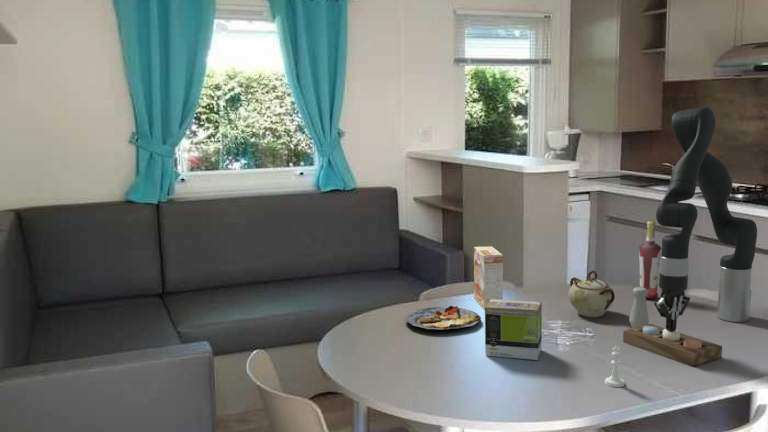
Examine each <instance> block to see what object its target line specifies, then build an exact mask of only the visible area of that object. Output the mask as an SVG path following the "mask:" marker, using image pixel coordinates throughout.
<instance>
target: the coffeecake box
mask: <svg viewBox="0 0 768 432" xmlns="http://www.w3.org/2000/svg"><path fill="white" fill-rule="evenodd" d="M473 273H474V274H473V276H474V277H473V280H474V281H473V299H474V300H475V301H476V302H477V303H478V305H480V307H481V308H482V309H483V311H485V307H486V306H487V304H488V303H489V301H490V300H491V299H504V289H503V288H504V254H503V253H501V252H500V251H498V250H497V249H496V248H495V247H493V246H492V245H490V246H474V247H473Z"/></svg>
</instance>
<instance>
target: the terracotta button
mask: <svg viewBox="0 0 768 432" xmlns="http://www.w3.org/2000/svg"><path fill="white" fill-rule="evenodd" d="M684 346H685V347H688V348H691V349H694V350H696V349H699V348H701V347H702V342H700V341H698V340H693V339H687V340H684Z"/></svg>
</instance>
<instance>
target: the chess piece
mask: <svg viewBox="0 0 768 432" xmlns="http://www.w3.org/2000/svg"><path fill="white" fill-rule="evenodd" d="M611 350H612V351H613V352H611V353H610V354H611V357H612V360H611V362H610V363H611V365H612V371H611V375H610V376H609V377H606V378H605V379H604V384H605V385H606V386H609V387H612V388H621V387H624V386H626V385H625V384H626V383H625V380H624V379H623V378H621V377H620V376H619V370H618V365H619V364H621V363H620V361H619V357H620V352H619V351H620V347H618V346H617V345H614V347H612V348H611Z"/></svg>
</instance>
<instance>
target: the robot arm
mask: <svg viewBox="0 0 768 432" xmlns="http://www.w3.org/2000/svg"><path fill="white" fill-rule="evenodd" d="M671 129H672V131H673V134H674V137H675V138H676V141H677V142H678V144H679V146H680V148H681V150H682V152H683V153H684V154H683V155H682V157H680V159H678V161H677V162H676V164H675V166H674V167H673V169H672V172H671V175H670V180H669V185H668V188H667V190H666V193H665V194H664V197H663V198H662V199H661V201H660V203H659V205H658V207H657V209H656V212H655V218H656V219H655V220H656V221H657V223H658V224H659V225H660V226H662V227H665V228H666V227H668V228H679V229H680V228H681V231H680V232H679V233H675V234H667V235H664V236H663V237H662V240H661V254H660V265H659V274H658V287H659V289H660V290H661V292H660V299H659V300H658V301H657V300H656V301H655V302H654V307H655V308H656V310H657V312H658V313H659V315H660V316H661V317H662V318H665V328H666V330H667V331H670V332H673V331H676V330H677V326H678V325H677V323H678V321H677V320H678V319H679V317H680V316H683V314H684V312H685V310H686V308H687V306H688V305H689V302H690V300H691V298H690V297H689V296H686V290H688V287H689V285H688V283H689V265H690V264H689V248H690V247H689V246H690V239H691V235H692V232H693V229H694V227H695V224H696V222H697V219H698V215H699V214H698V209H697V207H696V205H695V204H693V203H690V202H684V201H689V200H691V199H693V198H694V196H695V193H696V189H697V185H698V189H699V191H700V192H701V195H702V197H703V199H704V201H705V203H706V207H707V209H708V213H709V215H710V219H711V222H712V226H713V229H714V230H713V231H714V234H715V235H716V238H717V240H718V241H719V242H720V243H721V244H724V245H727V246H734V247H735V249H734V252H733V253H732V254H726V255H723V256H721V258H720V260H719V277H718V280H719V281H718V293H717V307H716V308H717V309H716V311H717V312H716V313H717V314H716V317H717V318H718V319H720V320H723V321H726V322H733V323H735V322H736V323H737V322H739V323H743V322H748V321H749V319H750V318H751V317H750V315H751V303H752V300H751V299H752V288H751V286H752V285H751V284H752V269H753V262H754V259H755V255H756V248H757V247H756V246H757V239H758V228H757V224H756V222H755V221H754V220H752V219H750V218H744V217H738V216H737V217H736V216H733V215H732V213H731V212H730V210H729V207H728V201H729V199H730V196H731V194H732V192H733V190H732V189H733V182H732V179H731V175H730V174H729V171H728V169H727V167H726V165H725V164H724V163H723V162H722V161H721V160H720V159H719V158H717V157H716V156H714V155H713V154H711V152H709V151H708V149H709V147H710V144H711V141H712V140H713V137H714V134H715V129H716V116H715V113H714V111H713V110H712V109H711V108H710V107H707V106H701V107H696V108H688V109H685V110H683V109H682V110H679V111H676V112H675V113H673V114H672V116H671Z"/></svg>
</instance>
